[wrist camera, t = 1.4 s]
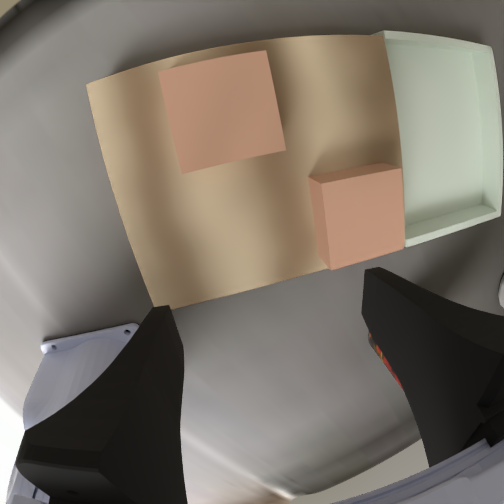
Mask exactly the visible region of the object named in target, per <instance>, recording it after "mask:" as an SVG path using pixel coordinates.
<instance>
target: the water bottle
mask: <svg viewBox="0 0 504 504" xmlns="http://www.w3.org/2000/svg"><path fill="white" fill-rule="evenodd" d="M498 296H499V300H500V304H501V306H502V307H503V308H504V275H503V277H502V280H501V282H500V287H499V292H498Z"/></svg>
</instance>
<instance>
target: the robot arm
mask: <svg viewBox="0 0 504 504" xmlns="http://www.w3.org/2000/svg"><path fill="white" fill-rule="evenodd" d="M362 316H363V318H364V320H365V323H366V325H367V327H368V329H369V331H370V334H371V335H372V337H373V339H374V340H375V342H376V344H377V345H378V347H379V349H380V350H381V352H382V353H383V355H384V357H385V358H386V360H387V361H388V363H389V365H390V366H391V368H392V369H393V371H394V373H395V374H396V376H397V378H398V380H399V382H400V384H401V386H402V388H403V390H404V392H405V395H406V397H407V399H408V402H409V404H410V407H411V409H412V412H413V414H414V417H415V420H416V422H417V425H418V428H419V431H420V435H421V438H422V441H423V444H424V448H425V452H426V456H427V459H428V464H429V468H428V469H426V470H424V471H421V472H419V473H417V474H415V475H412V476H410V477H408V478H405V479H403V480H400V481H398V482H395V483H393V484H390V485H388V486H385V487H382V488H379V489H377V490H374V491H371V492H368V493H365V494H362V495H359V496H356V497H353V498H349V499H346V500H342V501H339V502H335V503H332V504H503V503H504V316H500V315H495V314H491V313H487V312H483V311H479V310H476V309H473V308H469V307H466V306H464V305H461V304H458V303H455V302H453V301H450V300H448V299H445V298H443V297H441V296H438V295H436V294H434V293H432V292H430V291H428V290H425V289H423V288H421V287H419V286H417V285H415V284H413V283H411V282H409V281H408V280H406V279H404V278H402V277H400V276H398V275H396V274H394V273H392V272H390V271H388V270H385V269H383V268H381V267H376V268H371V269H366V270H365V274H364V289H363V301H362ZM125 330H129V331H130V332H126V331H125ZM54 345H55V346H56V347H55V346H54ZM40 348H41V350H42V352H43V353H44V357H43V360H42V362H41V364H40V366H39V368H38V371H37V373H36V375H35V377H34V380H33V382H32V384H31V387H30V389H29V391H28V394H27V396H26V399H25V402H24V406H23V423H24V428H25V433H24V436H23V439H22V442H21V445H20V448H19V451H18V455H17V457H16V460H15V464H14V467H13V470H12V474H11V478H10V482H9V486H8V491H7V498H6V504H188V503H187V497H186V490H185V482H184V474H183V464H182V453H181V437H180V419H181V405H182V393H183V381H184V350H183V344H182V341H181V339H180V336H179V333H178V330H177V327H176V324H175V321H174V318H173V315H172V312H171V309H170V306H169V305H164V306H157V307H153V308H152V309H151V311H150V312H149V313H148V315H147V316H146V318H145V319H144V321H143V322H142V323H141V325H140V326H139V325H137V324H135V323H130V324H126V325H121V326H117V327H112V328H108V329H103V330H99V331H94V332H89V333H84V334H80V335H75V336H70V337H65V338H60V339H55V340H50V341H45V342H42V344H41V346H40Z"/></svg>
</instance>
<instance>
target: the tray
mask: <svg viewBox="0 0 504 504" xmlns="http://www.w3.org/2000/svg"><path fill="white" fill-rule="evenodd" d="M372 35H379V36H383V37H384V42H385V46H386V51H387V56H388V61H389V66H390V71H391V77H392V83H393V89H394V95H395V102H396V109H397V116H398V124H399V133H400V143H401V153H402V166H403V181H404V204H405V245H404V246H405V247H409V246H412V245H416V244H419V243H422V242H425V241H428V240H431V239H434V238H437V237H440V236H443V235H446V234H450V233H453V232H456V231H459V230H461V229H464V228H467V227H470V226H473V225H476V224H479V223H482V222H485V221H488V220H491V219H494V218H496V217H499V216H501V205H502V186H503V138H502V120H501V108H500V98H499V89H498V81H497V75H496V68H495V62H494V57H493V51H492V47H490V46H486V45H482V44H478V43H473V42H468V41H463V40H458V39H453V38H447V37H441V36H434V35H427V34H419V33H410V32H399V31H386V30H383V31H380V32H378V33H375V34H372Z"/></svg>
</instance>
